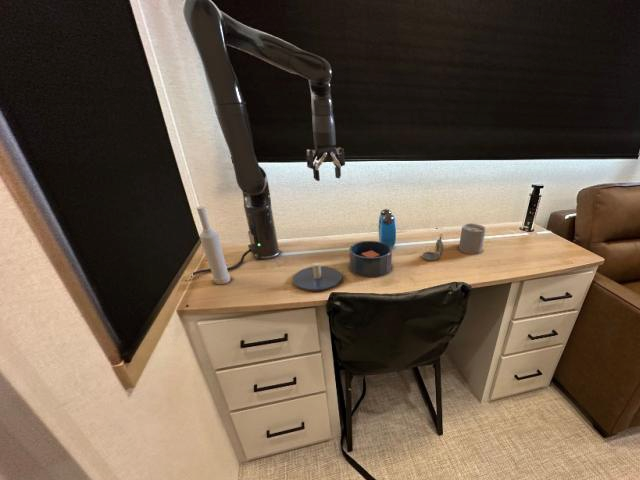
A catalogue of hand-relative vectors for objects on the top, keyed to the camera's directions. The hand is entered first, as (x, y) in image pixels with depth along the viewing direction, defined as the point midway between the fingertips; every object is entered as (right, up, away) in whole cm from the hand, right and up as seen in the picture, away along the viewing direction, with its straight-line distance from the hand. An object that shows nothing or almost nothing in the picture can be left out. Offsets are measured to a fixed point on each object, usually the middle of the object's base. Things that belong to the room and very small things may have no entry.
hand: (327, 179), depth 118 cm
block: (+16, -32, +3) cm, 36 cm away
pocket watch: (+41, -28, +13) cm, 51 cm away
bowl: (+16, -33, +3) cm, 36 cm away
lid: (-2, -38, -7) cm, 38 cm away
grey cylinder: (+58, -22, +23) cm, 66 cm away
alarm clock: (+21, -21, +21) cm, 37 cm away
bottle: (-33, -39, -11) cm, 52 cm away
